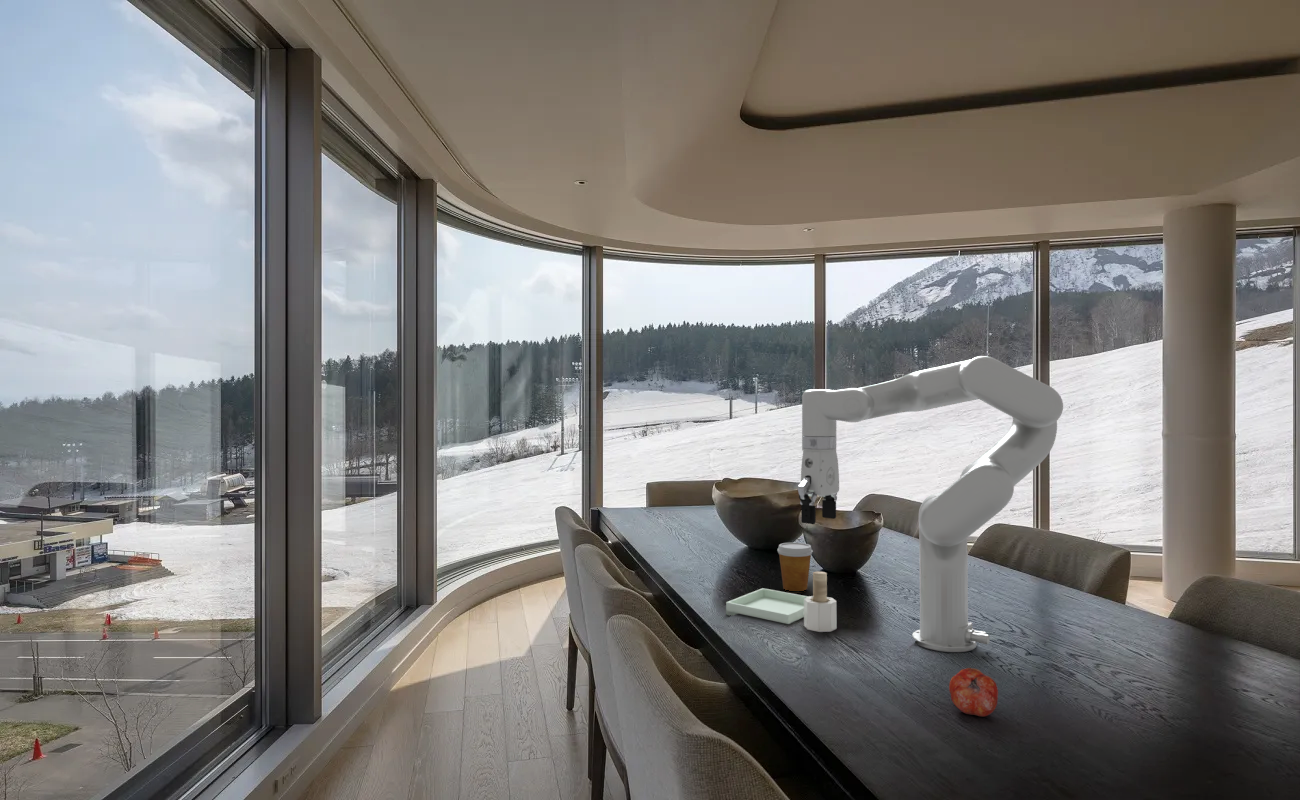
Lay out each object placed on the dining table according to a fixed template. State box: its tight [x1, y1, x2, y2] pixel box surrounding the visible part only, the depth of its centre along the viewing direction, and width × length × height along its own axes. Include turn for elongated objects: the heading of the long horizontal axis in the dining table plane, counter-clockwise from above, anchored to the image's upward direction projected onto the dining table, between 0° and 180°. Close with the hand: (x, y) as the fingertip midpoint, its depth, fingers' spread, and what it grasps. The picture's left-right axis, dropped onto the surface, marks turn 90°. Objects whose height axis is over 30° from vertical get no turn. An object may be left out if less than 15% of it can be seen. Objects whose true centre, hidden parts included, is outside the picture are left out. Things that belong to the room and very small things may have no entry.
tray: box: [725, 587, 809, 625], centre depth 177 cm, size 17×17×3 cm
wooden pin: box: [812, 571, 828, 603], centre depth 162 cm, size 3×3×12 cm
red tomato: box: [948, 667, 999, 717], centre depth 120 cm, size 7×7×10 cm
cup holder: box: [803, 595, 838, 633], centre depth 162 cm, size 7×7×7 cm
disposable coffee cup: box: [776, 542, 814, 592], centre depth 199 cm, size 10×10×12 cm
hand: (819, 520), depth 163 cm, fingers open, 9 cm apart
